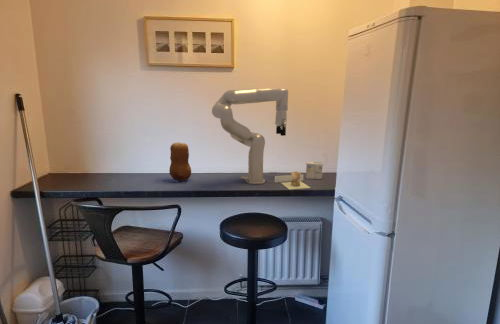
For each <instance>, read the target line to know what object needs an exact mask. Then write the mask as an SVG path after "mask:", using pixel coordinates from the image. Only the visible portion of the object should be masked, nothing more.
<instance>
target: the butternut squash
mask: <svg viewBox="0 0 500 324" xmlns="http://www.w3.org/2000/svg"><path fill="white" fill-rule="evenodd" d="M169 148H170V157H169V158H170V166H169V171H168V172H169V175H170V176H171V178H172V180H175V181H179V182H184V181H186V180H188V179H190V178H191V176H192V168H191V166H190V165H191V164H190V163H189V156H190V153H189V151H190V150H189V146H188V144H187V143H184V142H173V143H172V144H171V145H170V147H169Z"/></svg>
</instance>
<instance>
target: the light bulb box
mask: <svg viewBox="0 0 500 324" xmlns="http://www.w3.org/2000/svg"><path fill="white" fill-rule="evenodd" d="M305 165H306V167H305V178H306V180H309V179H310V180H322V179H323V162H321V161H306V163H305Z"/></svg>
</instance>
